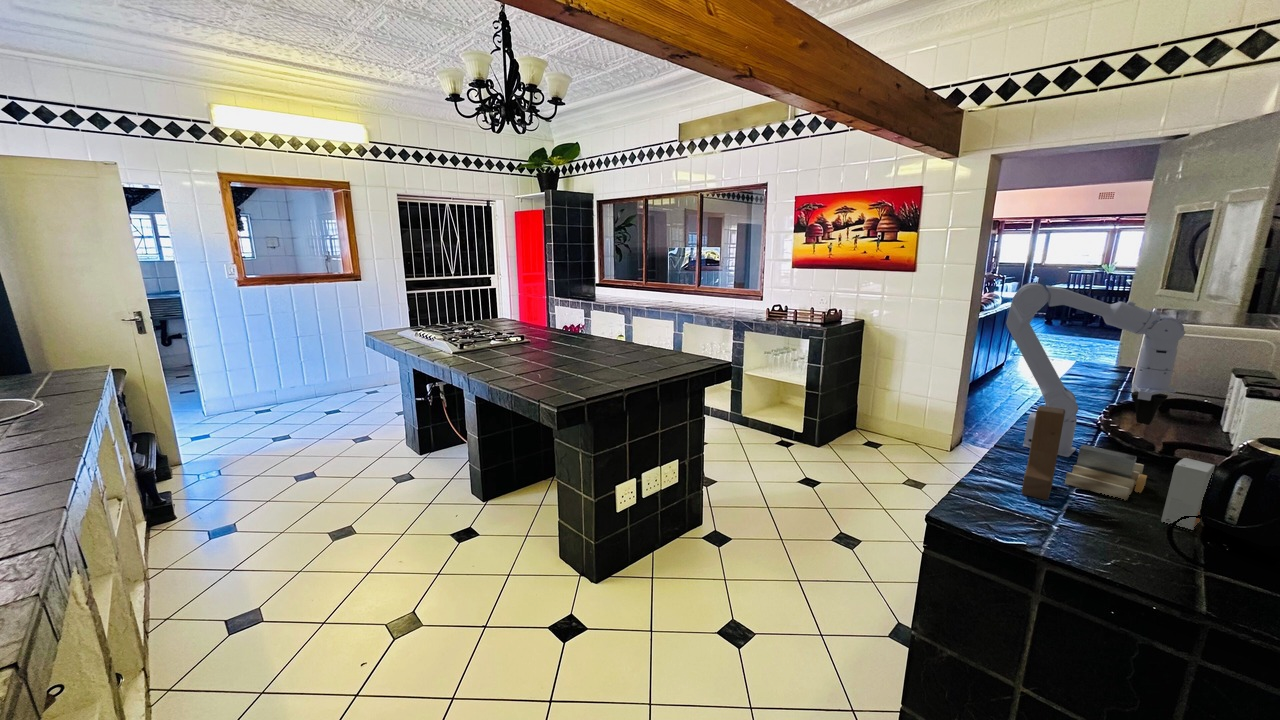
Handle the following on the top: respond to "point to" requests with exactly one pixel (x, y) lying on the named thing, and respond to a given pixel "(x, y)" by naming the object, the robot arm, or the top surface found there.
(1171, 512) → the skincare box
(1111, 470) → the panel
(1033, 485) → the wooden block
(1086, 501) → the top surface
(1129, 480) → the rack
